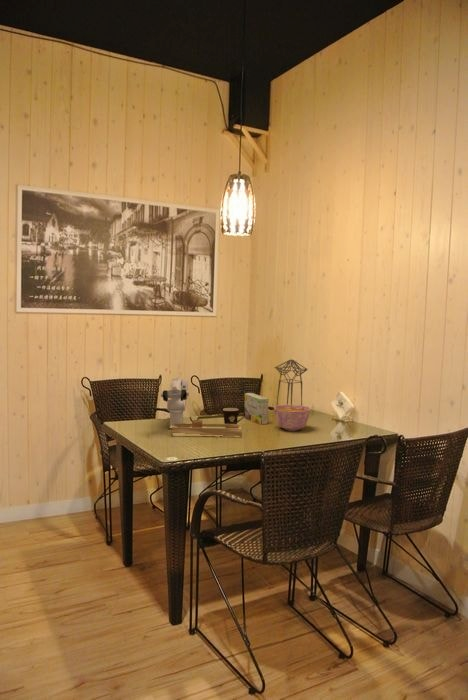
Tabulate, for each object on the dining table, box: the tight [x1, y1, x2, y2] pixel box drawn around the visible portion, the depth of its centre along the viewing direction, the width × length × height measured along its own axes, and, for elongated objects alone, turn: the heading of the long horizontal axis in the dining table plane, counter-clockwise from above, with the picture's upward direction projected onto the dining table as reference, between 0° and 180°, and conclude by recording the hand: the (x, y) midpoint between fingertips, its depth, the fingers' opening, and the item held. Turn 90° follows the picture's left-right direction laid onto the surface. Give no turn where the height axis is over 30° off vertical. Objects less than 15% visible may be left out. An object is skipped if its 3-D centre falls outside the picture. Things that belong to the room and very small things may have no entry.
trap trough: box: [171, 422, 242, 437], centre depth 288 cm, size 11×36×4 cm, turn 89°
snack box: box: [244, 392, 269, 426], centre depth 322 cm, size 21×6×15 cm, turn 25°
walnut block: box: [191, 419, 203, 428], centre depth 288 cm, size 5×5×4 cm
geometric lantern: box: [274, 359, 308, 407], centre depth 335 cm, size 16×16×35 cm
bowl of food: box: [273, 404, 311, 432], centre depth 302 cm, size 20×20×12 cm
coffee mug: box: [222, 407, 245, 424], centre depth 305 cm, size 12×9×10 cm
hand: (173, 399), depth 281 cm, fingers open, 7 cm apart
